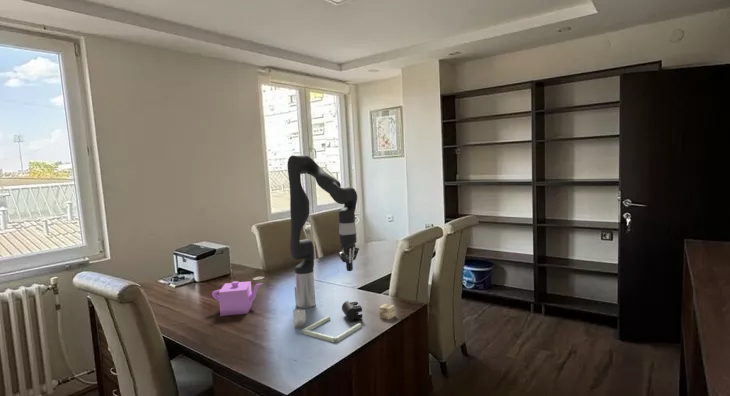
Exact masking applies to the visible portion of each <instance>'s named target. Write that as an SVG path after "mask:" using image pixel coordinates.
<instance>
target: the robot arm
mask: <svg viewBox="0 0 730 396" xmlns="http://www.w3.org/2000/svg"><path fill="white" fill-rule="evenodd" d="M286 168H287V174H288V182H289V199H290V200H289V201H290V202H289V203H290V204H289V211H290V212H289V213H290V240H289V241H290V244H289V251H290V256H291V258H292V259H293V260H296V261H297V260H301V262H300V263H299V264H297V265H296V266H295V267H294V275H295V276H294V278H295V279H294V280H295V286H294V301H295V306H297V308H298V309H310V308H312V307H315V306H316V290H315V289H316V288H315V285H316V284H315V272H314V270H315V269H314V268H315V249H314V243H313V241H312V240H311V239H310V238H305V239H301V234H302V230H303V228H304V227H305V224H306V222H307V220H308V219H309V217H310V200H309V197H308V195H307V193H306V191H305V190H304V188H303V186H302V180H301V177H302V176H301V175H303V174H307V175H310V176H312V177H314V180H315V181H316V184H317V185H318V186H319V187H320V188H321V189H322V190H323V191H324V192H326V193H328V194H329V195H330V197H331V199H332V200H333V201H334V202H336V203H337V204H340V205H343V208H342V209H340V210H339V211H338V221H339V222H338V224H339V225H338V232H339V233H338V235H339V237H338V238H339V243H340V245H341V248H340V249H341V251H340V252H338V253H337V256H338V257H339V258H340V260H341V261H342V262H343V263H345V264H346V266H345V267H346V271H347V272H352V271H353V269H354V261H356V259H357V256H358V254H359V250H360V248H359V247H357V246H356V243H357V240H358V238H357V226H356V217H355V213H356V209H357V202H358V194H357V191H356V189H355V188H354V187H351V186H348V187H341V185H342V184H341V182H340V181H339V180H337V179H336V178H334V176H331V175H330V174H329V173H327V172H326V171H325V170H324V169H322V168H321V167H320V165H318V163H317V162H315V161H314V159H312V158H311V157H310V156H309V155H307V154H293V155H290V156H289V157H288V159H287V167H286ZM302 259H303V260H302Z"/></svg>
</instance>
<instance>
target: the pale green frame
mask: <svg viewBox="0 0 730 396" xmlns="http://www.w3.org/2000/svg"><path fill="white" fill-rule="evenodd" d="M329 321H331V316H330V315H327V316H325V317H324V318H321V319H320V320H317V321H316V322H314V323H312V324H310V325H308V326H306V327H304V328H301V334H303V335H306V336H310V337H314V338H317V339H321V340H324V341H328V342H332V343H334V344H336V343H338V342H340V341H341V340H343V339H344V338H347V336H349V335H351V334H352V333H354V332H356V331H357V330H359V329H360V328H362V323H360V322H357V323H356V324H355V325H353V326H351V327H350V328H348V329H346V330H345V331H343V332H342V333H340V334H338V335H336V336H332V335H328V334H324V333H320V332H317V331H314V329H316V328H318V327H320V326H321V325H323V324H325V323H327V322H329ZM312 330H313V331H312Z"/></svg>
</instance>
